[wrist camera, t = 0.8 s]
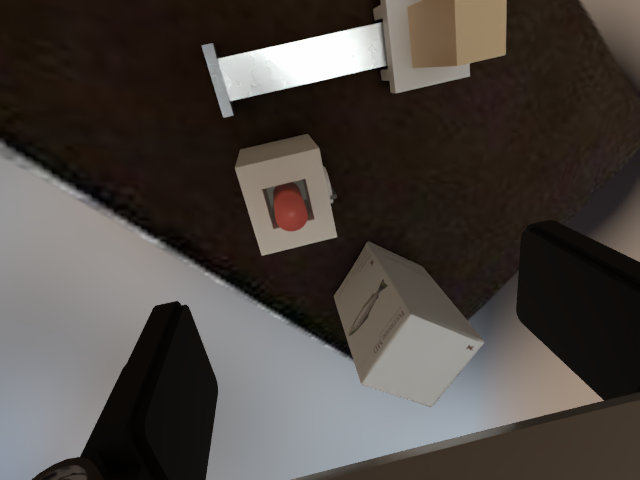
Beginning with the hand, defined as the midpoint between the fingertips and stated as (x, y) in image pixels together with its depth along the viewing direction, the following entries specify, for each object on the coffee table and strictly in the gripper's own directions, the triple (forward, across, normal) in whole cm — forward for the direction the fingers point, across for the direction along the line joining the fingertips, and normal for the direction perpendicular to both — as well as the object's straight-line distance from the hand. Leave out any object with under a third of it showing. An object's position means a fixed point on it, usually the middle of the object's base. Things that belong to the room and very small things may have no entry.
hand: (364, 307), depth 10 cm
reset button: (+20, +1, +2) cm, 20 cm away
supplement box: (+25, -6, +15) cm, 30 cm away
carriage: (+24, -11, -7) cm, 28 cm away
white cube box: (+25, +2, +2) cm, 25 cm away
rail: (+24, -5, -7) cm, 26 cm away
